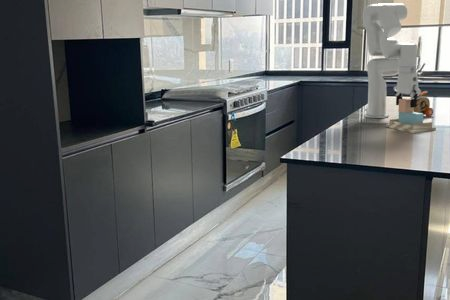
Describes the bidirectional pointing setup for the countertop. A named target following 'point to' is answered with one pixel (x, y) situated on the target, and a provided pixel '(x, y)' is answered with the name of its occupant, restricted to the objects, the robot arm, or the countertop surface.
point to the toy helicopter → (423, 105)
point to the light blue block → (410, 118)
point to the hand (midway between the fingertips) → (406, 106)
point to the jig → (410, 126)
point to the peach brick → (405, 105)
